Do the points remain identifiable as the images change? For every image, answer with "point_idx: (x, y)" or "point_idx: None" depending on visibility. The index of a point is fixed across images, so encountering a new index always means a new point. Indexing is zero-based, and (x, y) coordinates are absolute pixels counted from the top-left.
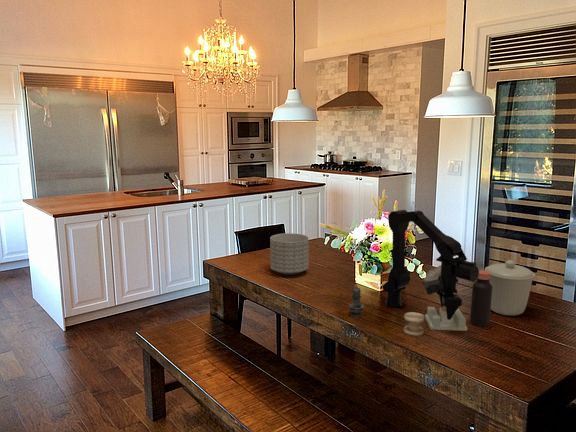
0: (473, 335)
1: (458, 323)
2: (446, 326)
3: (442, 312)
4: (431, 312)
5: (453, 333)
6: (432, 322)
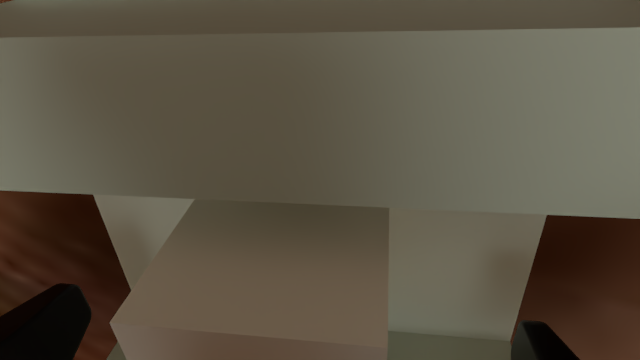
0: (100, 352)
1: (120, 348)
2: (107, 201)
3: (126, 307)
4: (210, 61)
5: (61, 222)
6: (34, 7)
